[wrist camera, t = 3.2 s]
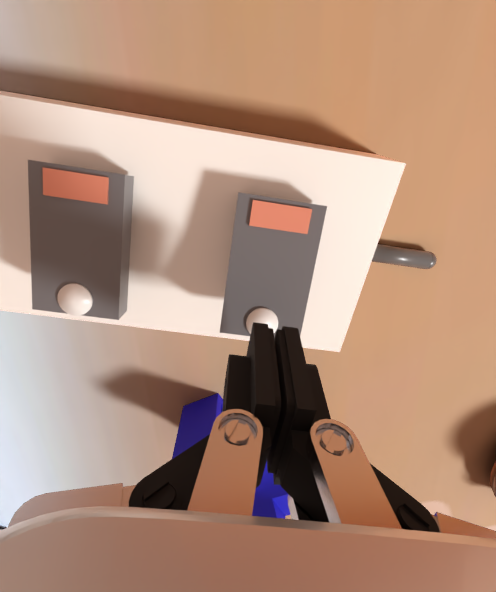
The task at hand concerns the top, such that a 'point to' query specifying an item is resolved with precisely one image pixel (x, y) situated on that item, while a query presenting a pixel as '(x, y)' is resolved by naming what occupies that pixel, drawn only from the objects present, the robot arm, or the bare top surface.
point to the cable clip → (199, 425)
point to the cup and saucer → (493, 478)
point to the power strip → (198, 210)
